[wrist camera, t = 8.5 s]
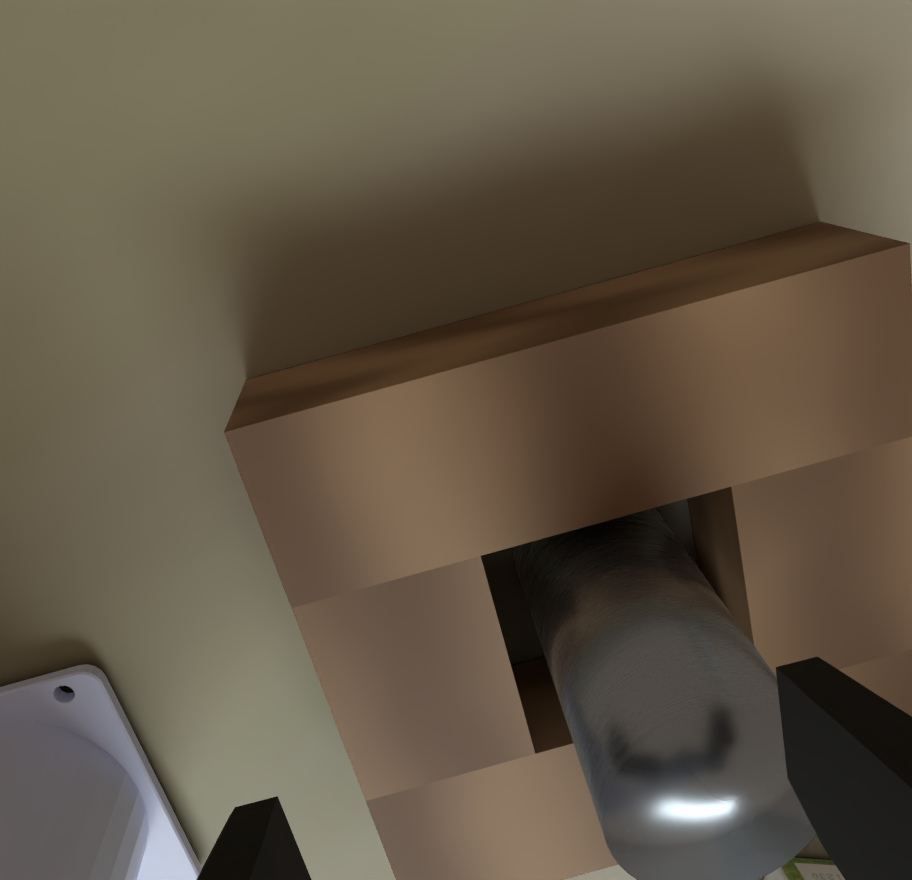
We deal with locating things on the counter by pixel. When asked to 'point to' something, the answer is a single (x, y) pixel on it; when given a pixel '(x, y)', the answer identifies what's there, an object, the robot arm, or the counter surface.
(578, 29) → the counter surface
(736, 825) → the grey cylinder
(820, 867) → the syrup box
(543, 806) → the bead block
